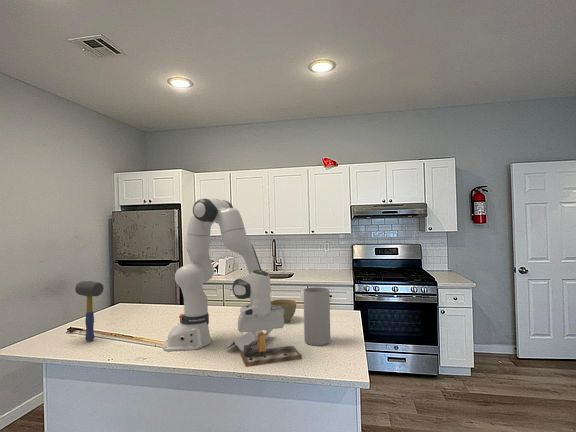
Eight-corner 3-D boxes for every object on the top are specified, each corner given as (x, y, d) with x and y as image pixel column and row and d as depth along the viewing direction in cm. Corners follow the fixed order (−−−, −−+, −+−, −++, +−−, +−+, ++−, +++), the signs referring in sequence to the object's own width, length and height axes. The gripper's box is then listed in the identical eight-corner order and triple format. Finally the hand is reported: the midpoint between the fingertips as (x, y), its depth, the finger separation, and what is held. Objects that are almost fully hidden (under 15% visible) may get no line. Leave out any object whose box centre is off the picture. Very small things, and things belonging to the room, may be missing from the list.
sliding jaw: (261, 357, 142) (261, 339, 142) (257, 350, 151) (256, 332, 151) (268, 357, 143) (268, 338, 143) (263, 349, 151) (263, 332, 152)
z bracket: (233, 360, 153) (225, 349, 155) (258, 343, 176) (250, 334, 178) (251, 342, 150) (242, 331, 152) (273, 328, 174) (265, 318, 175)
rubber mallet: (74, 342, 171) (73, 281, 172) (87, 337, 178) (87, 279, 179) (92, 345, 167) (91, 283, 167) (105, 340, 174) (104, 280, 174)
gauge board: (245, 366, 139) (245, 354, 139) (240, 355, 150) (240, 344, 150) (301, 358, 146) (301, 346, 146) (293, 348, 157) (292, 337, 157)
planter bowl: (287, 326, 191) (287, 306, 191) (263, 322, 199) (263, 303, 199) (301, 319, 204) (301, 300, 205) (279, 315, 213) (278, 298, 213)
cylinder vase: (303, 345, 161) (302, 292, 161) (305, 336, 173) (305, 287, 174) (329, 346, 159) (328, 292, 159) (330, 337, 171) (329, 287, 172)
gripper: (281, 304, 155) (282, 335, 155) (236, 308, 149) (237, 340, 149) (285, 307, 149) (286, 339, 149) (238, 312, 143) (239, 345, 143)
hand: (261, 340), depth 149 cm, fingers closed on sliding jaw, 2 cm apart
